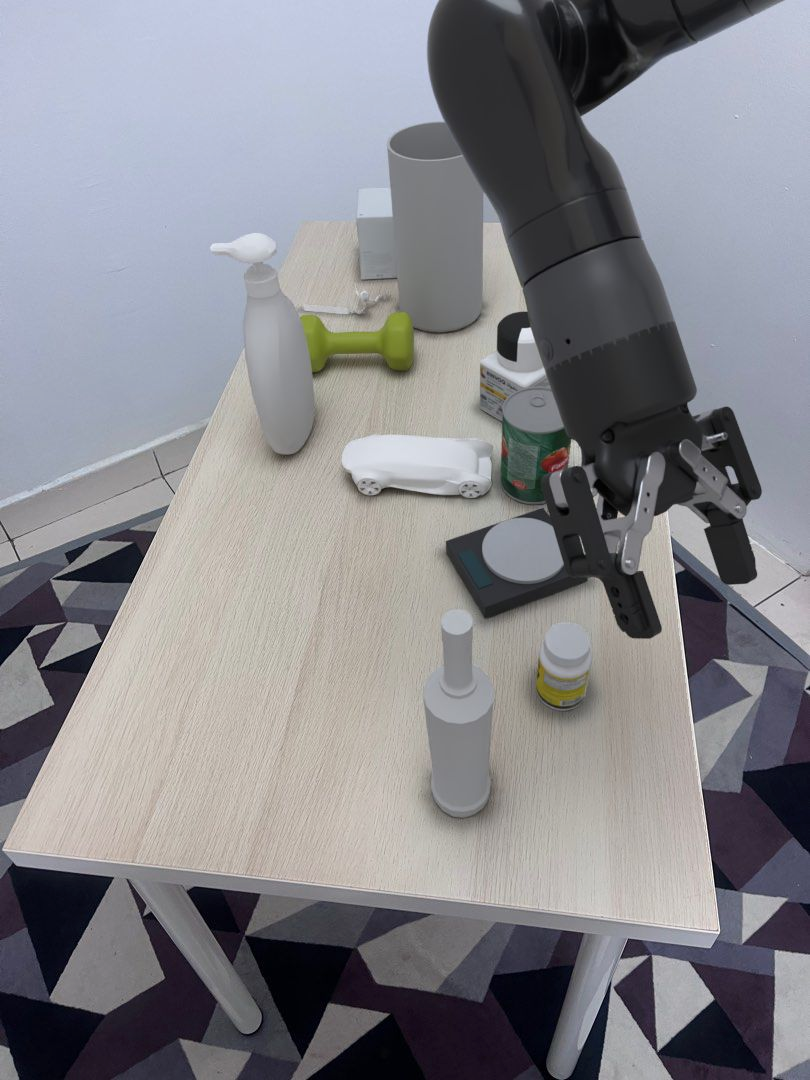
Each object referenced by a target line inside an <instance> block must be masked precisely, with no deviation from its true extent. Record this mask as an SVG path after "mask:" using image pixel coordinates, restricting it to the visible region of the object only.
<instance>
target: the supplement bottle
mask: <svg viewBox="0 0 810 1080" xmlns="http://www.w3.org/2000/svg"><path fill="white" fill-rule="evenodd" d="M591 640H592V639H591V637H590V635H589V633H588V631H587V630H586V629H585V627H583V626H581V625H580V624H578V623H575V622H571V621H561V622H557V623H554V624H553V625H551V626H550V627H549V628H548V629H547V631H546V632H545V635H544V640H543V642H542V644H540V647H539V652H538V658H537V659H538V661H537V671H536V680H535V681H536V682H535V690H536V694H537V696H538V698H539V700H540V701H541V702H542V703H543V705H545V706H547V707H548V708H550V709H552V710H556V711H560V712H561V711H564V712H565V711H571V710H574V709H576V708H577V707H579V706H581V704H582V703H583V701H584V700H585V698H586V694H587V689H588V685H589V679H590V673H591V668H592V663H593V653H592V649H591V643H592V641H591Z"/></svg>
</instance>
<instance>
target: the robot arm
mask: <svg viewBox="0 0 810 1080" xmlns="http://www.w3.org/2000/svg"><path fill="white" fill-rule="evenodd" d="M784 1H785V0H438V1H437V3H436V5H435V7H434V10H433V12H432V14H431V17H430V18H431V19H430V21H429V26H428V31H427V40H426V62H427V72H428V78H429V82H430V86H431V91H432V93H433V97H434V99H435V102H436V105H437V108H438V111H439V113H440V115H441V117H442V120H443V121H444V122H445V123H446V125H447V127H448V129H449V131H450V133H451V135H452V137H453V139H454V141H455V143H456V144H457V146H458V148H459V150H460V152H461V153H462V155H463V157H464V159H465V161H466V162H467V164H468V166H469V168H470V170H471V172H472V173H473V175H474V177H475V179H476V181H477V182H478V184H479V185H480V187H481V188H482V190H483V194H484V195H485V196H486V198H487V199H488V201H489V202H490V205H491V206H492V207H493V209H494V211H495V212H496V215H497V217H498V220H499V222H500V226H501V229H502V233H503V236H504V240H505V243H506V247H507V249H508V253H509V256H510V258H511V262H512V264H513V268H514V271H515V273H516V277H517V279H518V282H519V284H520V287H521V289H522V293H523V298H524V301H525V305H526V306H525V307H526V312H528V317H529V322H530V327H531V330H532V334H533V337H534V340H535V343H536V346H537V349H538V352H539V355H540V358H541V361H542V364H543V366H544V369H545V372H546V375H547V378H548V381H549V384H550V387H551V390H552V393H553V396H554V399H555V402H556V405H557V408H558V411H559V414H560V417H561V419H562V422H563V425H564V428H565V431H566V434H567V436H568V437H569V438H570V439H571V441H574V442H576V443H577V444H578V446H579V449H580V453H581V463H580V464H581V465H574V466H570V467H568V468H567V469H563V470H559V471H556V472H552V473H548V474H545V475H544V476H543V477H542V479H541V488H542V491H543V494H544V498H545V501H546V503H545V504H546V508H547V511H548V512H547V513H548V515H549V516H550V519H551V522H552V525H553V529H554V532H555V536H556V539H557V543H558V546H559V549H560V553H561V556H562V560H563V563H564V567H565V570H566V572H567V574H568V575H569V576H570V577H573V578H576V577H588V578H597V579H599V580H600V582H602V585H603V587H604V591H605V593H606V596H607V599H608V601H609V605H610V608H611V611H612V613H613V615H614V619H615V621H616V625H617V627H618V628H619V629H620V631H621V632H622V633H625V634H626V636H627V637H628V638H631V639H641V640H642V639H643V640H644V639H645V640H647V639H649V640H650V639H653V638H654V637H656V636H658V635H660V634H661V633H662V631H663V626H662V623H661V620H660V617H659V615H658V612H657V609H656V608H657V607H656V605H655V602H654V600H653V597H652V593H651V591H650V587H649V585H648V581H647V578H646V576H645V573H644V570H639V566H640V561H641V556H642V549H643V542H644V539H645V537H646V536H648V535H649V534H650V532H651V531H652V529H653V528H652V527H653V522H654V518H655V517H657V516H660V515H662V514H665V513H667V512H668V511H669V510H670V509H671V508H672V507H673V506H675V505H678V506H681V507H685V508H687V509H688V510H690V511H691V512H692V513H694V514H695V515H696V516H697V517H698V518H699V519H700V520H702V522H704V523H706V524H709V526H707V527H705V528H703V531H704V534H705V537H706V541H707V544H708V546H709V549H710V553H711V555H712V558H713V561H714V565H715V568H716V571H717V573H718V577H719V579H720V581H721V583H723V584H724V585H727V586H731V585H732V586H733V585H747V584H749V583H751V582H752V581H755V580H756V579H757V578H758V571H757V564H756V562H757V561H756V556H755V554H754V550H753V547H752V544H751V541H750V538H749V534H748V532H747V528H746V526H745V522H744V518H745V517H746V515H747V510H748V509H747V507H748V505H749V504H750V503H751V502H752V501H756V500H759V499H760V498H761V497H762V493H763V489H762V485H761V483H760V480H759V477H758V475H757V472H756V469H755V466H754V463H753V461H752V459H751V456H750V453H749V450H748V447H747V445H746V442H745V439H744V437H743V434H742V432H741V428H740V425H739V423H738V420H737V418H736V415H735V412H734V410H733V409H732V408H731V407H730V406H723V407H719V408H714V409H710V410H707V411H704V412H701V413H699V414H696V415H692V413H691V411H690V409H689V406H688V403H690V402H692V400H694V399H695V398H696V396H697V393H698V388H697V384H696V382H695V378H694V375H693V372H692V369H691V366H690V363H689V360H688V357H687V354H686V350H685V348H684V345H683V342H682V339H681V335H680V333H679V330H678V326H677V324H676V320H675V318H674V315H673V311H672V309H671V305H670V302H669V299H668V296H667V292H666V289H665V286H664V284H663V281H662V278H661V275H660V274H659V271H658V269H657V267H656V264H655V263H654V261H653V260H652V257H651V255H650V253H649V251H648V249H647V247H646V244H645V240H644V239H643V235H642V232H641V229H640V226H639V223H638V219H637V217H636V213H635V210H634V208H633V205H632V201H631V197H630V195H629V192H628V189H627V186H626V183H625V181H624V177H623V175H622V173H621V170H620V168H619V166H618V164H617V163H616V161H615V158H614V157H613V155H611V152H610V151H608V149H607V148H606V147H605V146H604V145H603V144H602V143H601V142H599V141H598V140H597V138H596V137H594V135H593V134H592V133H591V132H590V131H589V129H588V128H587V126H586V124H585V122H584V120H583V116H584V115H587V114H588V113H590V112H592V111H593V110H594V109H596V108H598V107H599V106H601V105H602V104H604V102H606V101H608V100H609V99H611V98H612V97H613V96H615V95H616V94H618V93H620V92H621V91H622V90H623V89H626V87H628V86H629V85H631V84H632V83H633V82H635V81H636V80H637V79H639V78H640V77H641V76H643V75H644V74H645V73H646V72H648V71H649V70H650V69H651V68H652V67H654V66H655V65H656V64H658V63H659V62H660V61H662V60H664V59H665V58H667V57H669V56H671V55H673V54H675V53H678V52H681V51H684V50H685V49H688V48H690V47H692V46H695V45H697V44H698V43H699V42H703V41H706V40H707V39H710V38H711V37H713V36H715V35H717V34H719V33H722V32H724V31H726V30H727V29H731V27H734V26H736V25H738V24H740V23H742V22H744V21H746V20H748V19H750V18H752V17H754V16H755V15H758V14H760V13H762V12H765V11H767V10H768V9H770V8H772V7H774V6H777V5H779V4H780V3H782V2H784ZM727 467H730V468H732V469H733V472H734V474H735V475H734V476H735V477H736V481H737V482H736V483H732V481H731V478H730V475H729V473H728V470H727ZM597 495H598V498H597V502H595V499H594V498H595V497H597ZM619 513H620V514H621V515H622V516H621V517H618V516H619Z"/></svg>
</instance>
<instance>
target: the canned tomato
mask: <svg viewBox="0 0 810 1080" xmlns="http://www.w3.org/2000/svg"><path fill="white" fill-rule="evenodd" d="M502 412H503V418H502V421H501V442H500V443H501V444H500V445H501V446H500V447H501V448H500V450H501V451H500V476H499V484H500V487H501V489H502V491H503V492H504V493H505V495H506V496H507V497H509V498H510V499H512V500H514V501H515V502H518V503H521V504H525V505H534V506H537V505H543V504H544V505H545V504H546V501H545V498H544V494H543V491H542V488H541V479H542V477H543V476H544V475H545V474H548V473H552V472H556V471H559V470H563V469H567V468H569V464H570V454H571V446H572V439H570V438H569V437H568V436H567V434H566V431H565V428H564V425H563V422H562V419H561V417H560V414H559V411H558V408H557V405H556V402H555V399H554V396H553V393H552V390H551V388H547V387H528V388H523V389H520V390H518V391H516V392H514V393H512V394H511V395H510V396H508V397H507V399H506V400H505V401H504V404H503V408H502Z"/></svg>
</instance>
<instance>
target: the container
mask: <svg viewBox="0 0 810 1080" xmlns="http://www.w3.org/2000/svg"><path fill="white" fill-rule="evenodd" d="M528 387H547V388H551V387H550V384H549V381H548V378H547V375H546V372H545V369H544V366H543V364H542V361H541V358H540V355H539V352H538V349H537V346H536V343H535V340H534V337H533V334H532V330H531V327H530V322H529V317H528V312H527V311H517V312H516V311H515V312H512V313H509V314H507V315H505V316H504V317H503V318H502V319H500V320H499V322H498V323H497V327H496V350H495V351H494V352H492V353H490V354H489V355H487V356H485V357H483V358H482V359H481V360H480V361H479V409H480V410H481V411H484V412H485V413H486V414H488V415H490V416H491V417H493V418H495V419H497V420H498V421H500V422H502V418H503V412H502V408H503V404H504V401H505V400H506V399H507V397H508V396H510V395H511V394H512V393H514V392H516V391H518V390H520V389H523V388H528Z"/></svg>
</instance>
